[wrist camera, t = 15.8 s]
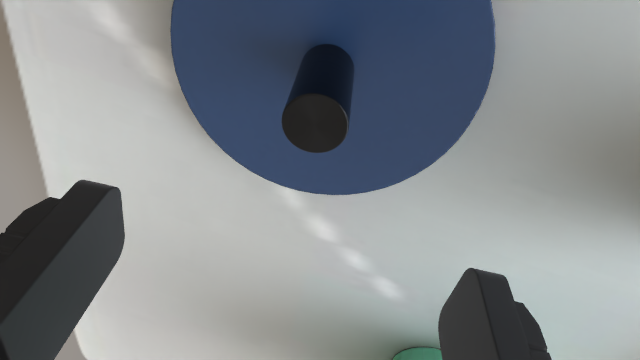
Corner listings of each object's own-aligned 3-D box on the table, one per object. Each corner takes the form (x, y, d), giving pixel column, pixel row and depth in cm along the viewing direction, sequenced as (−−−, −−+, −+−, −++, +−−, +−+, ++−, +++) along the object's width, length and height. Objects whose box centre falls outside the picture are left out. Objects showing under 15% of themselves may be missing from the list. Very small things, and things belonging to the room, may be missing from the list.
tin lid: (181, -172, 15) (91, -189, 10) (555, -72, 15) (635, -43, 11) (177, 149, 23) (126, 223, 18) (422, 206, 24) (434, 293, 19)
